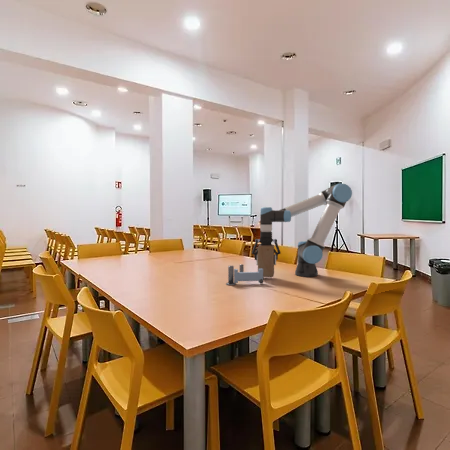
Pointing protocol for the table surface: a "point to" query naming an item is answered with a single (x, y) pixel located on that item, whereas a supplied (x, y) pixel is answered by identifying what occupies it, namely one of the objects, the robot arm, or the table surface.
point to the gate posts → (231, 274)
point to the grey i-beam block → (248, 276)
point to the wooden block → (266, 259)
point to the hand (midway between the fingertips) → (266, 264)
